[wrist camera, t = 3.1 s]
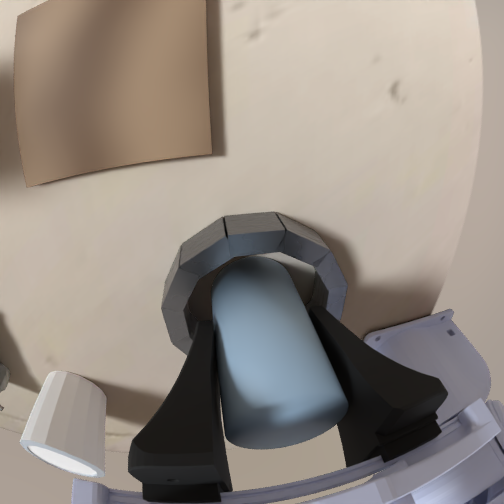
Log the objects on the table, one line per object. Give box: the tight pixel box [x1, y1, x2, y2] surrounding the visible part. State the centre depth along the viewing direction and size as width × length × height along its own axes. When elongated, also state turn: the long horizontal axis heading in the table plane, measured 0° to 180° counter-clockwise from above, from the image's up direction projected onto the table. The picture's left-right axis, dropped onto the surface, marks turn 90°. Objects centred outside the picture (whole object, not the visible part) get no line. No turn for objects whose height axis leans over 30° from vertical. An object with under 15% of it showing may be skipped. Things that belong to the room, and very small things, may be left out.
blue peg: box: [211, 257, 349, 449], centre depth 12 cm, size 4×4×8 cm
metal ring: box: [161, 212, 348, 356], centre depth 14 cm, size 9×9×2 cm
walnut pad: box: [14, 0, 212, 188], centre depth 8 cm, size 9×9×1 cm
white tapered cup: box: [20, 371, 107, 478], centre depth 15 cm, size 7×7×7 cm
